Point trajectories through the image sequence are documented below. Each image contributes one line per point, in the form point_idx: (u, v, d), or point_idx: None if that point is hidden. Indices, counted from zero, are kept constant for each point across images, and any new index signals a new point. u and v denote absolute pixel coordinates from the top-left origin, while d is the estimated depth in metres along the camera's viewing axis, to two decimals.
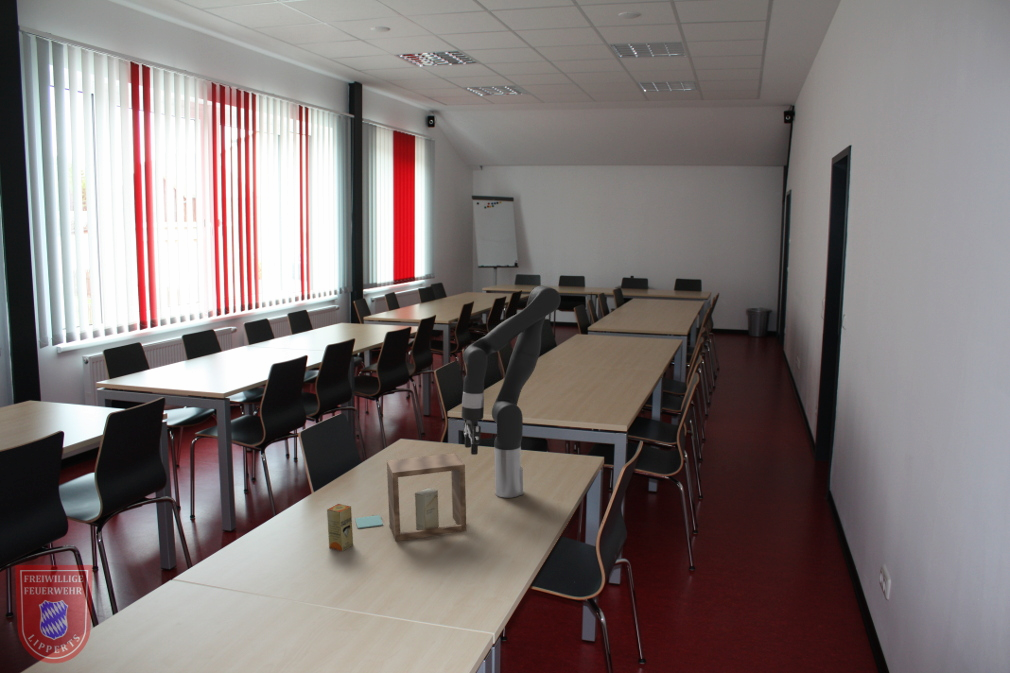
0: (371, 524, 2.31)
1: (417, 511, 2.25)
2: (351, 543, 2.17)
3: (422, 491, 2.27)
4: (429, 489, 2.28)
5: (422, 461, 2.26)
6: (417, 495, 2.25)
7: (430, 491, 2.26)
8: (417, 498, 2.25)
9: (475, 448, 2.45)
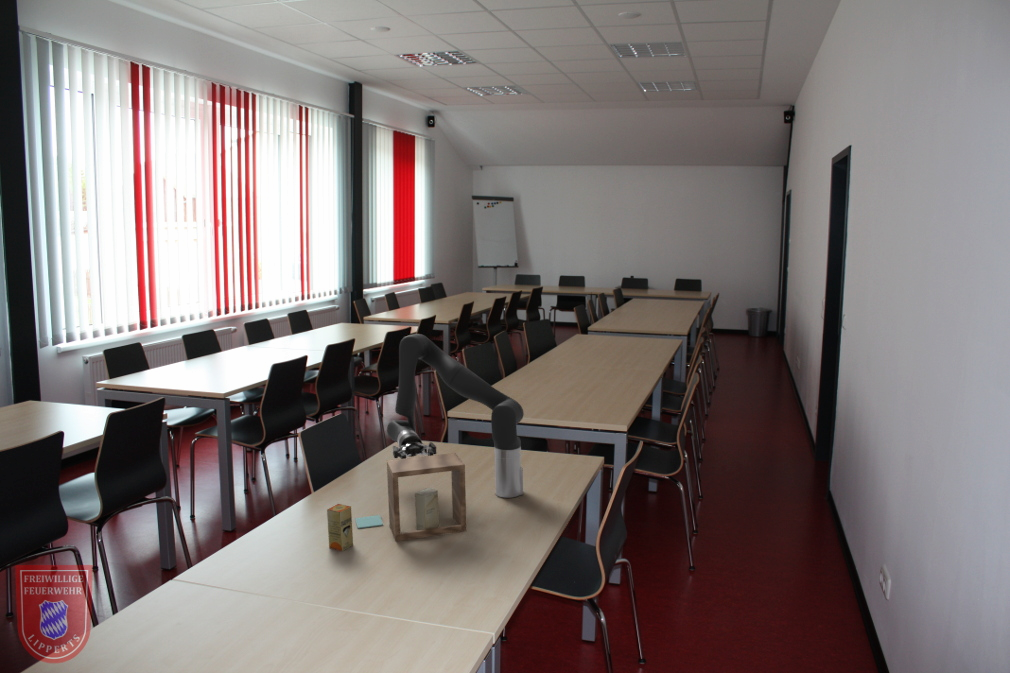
0: (371, 524, 2.31)
1: (417, 511, 2.25)
2: (351, 543, 2.17)
3: (422, 491, 2.27)
4: (429, 489, 2.28)
5: (422, 461, 2.26)
6: (417, 495, 2.25)
7: (430, 491, 2.26)
8: (417, 498, 2.25)
9: (400, 456, 2.37)
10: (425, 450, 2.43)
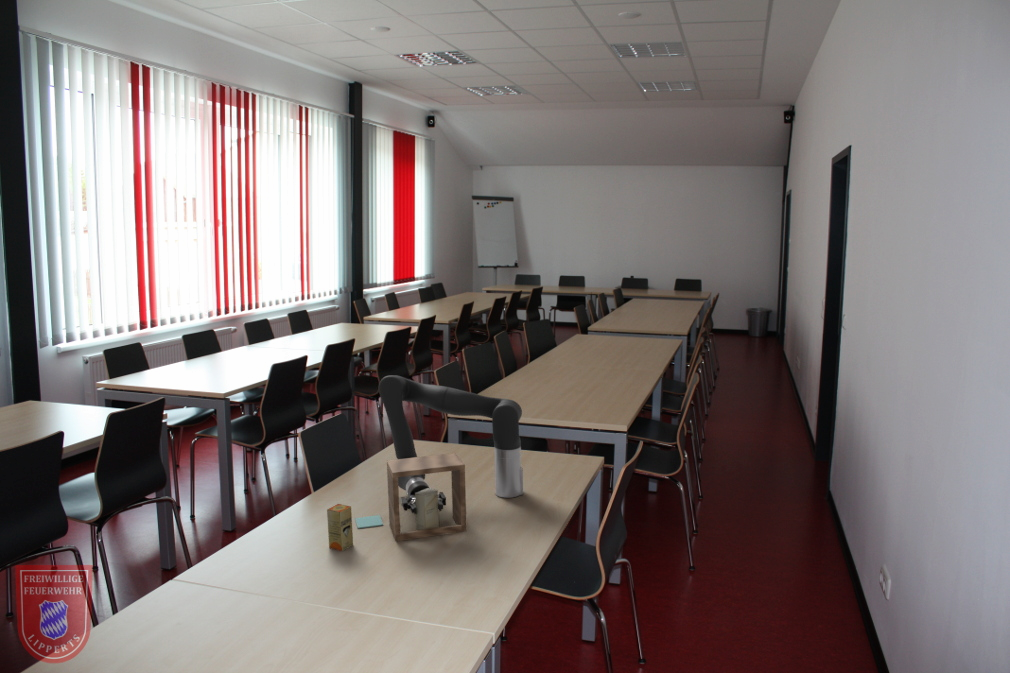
0: (371, 524, 2.31)
1: (417, 511, 2.25)
2: (351, 543, 2.17)
3: (422, 491, 2.27)
4: (429, 489, 2.28)
5: (422, 461, 2.26)
6: (417, 495, 2.25)
7: (430, 491, 2.26)
8: (417, 498, 2.25)
9: (410, 508, 2.26)
10: None
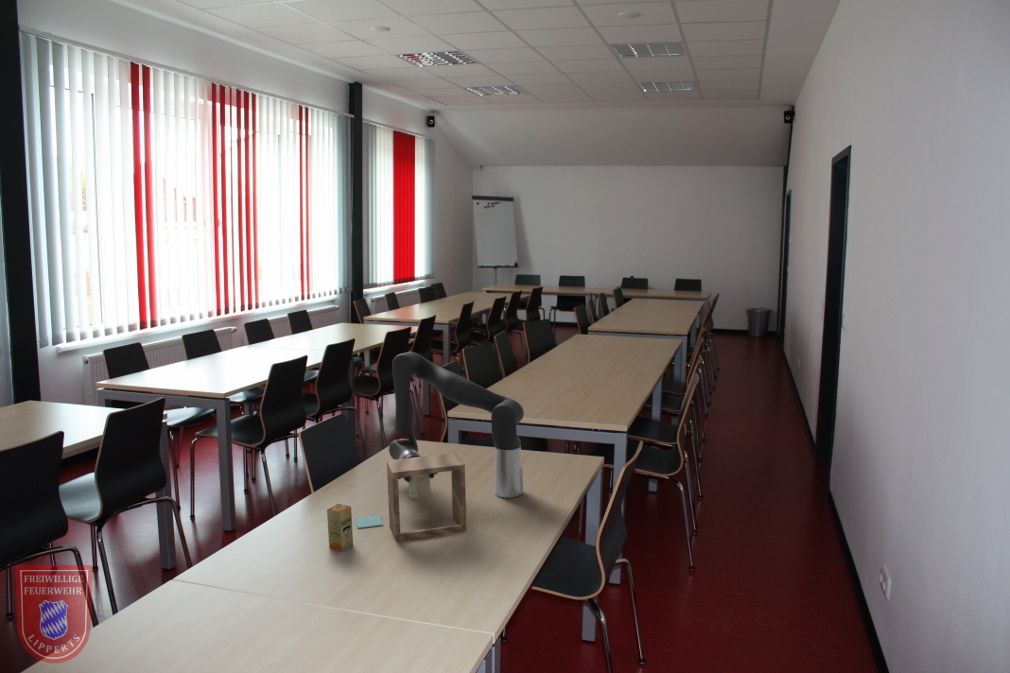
0: (371, 524, 2.31)
1: (410, 479, 2.38)
2: (351, 543, 2.17)
3: None
4: None
5: (422, 461, 2.26)
6: None
7: None
8: None
9: None
10: None
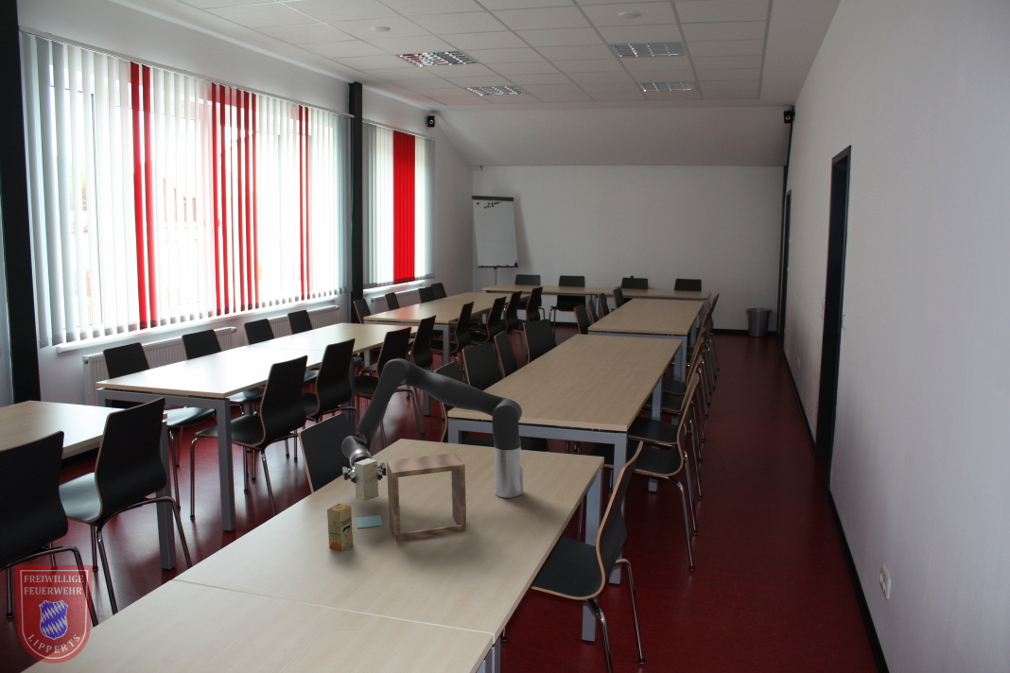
0: (371, 524, 2.31)
1: (356, 480, 2.30)
2: (351, 543, 2.17)
3: (362, 461, 2.31)
4: (369, 459, 2.33)
5: (422, 461, 2.26)
6: (356, 465, 2.29)
7: (369, 461, 2.30)
8: (356, 468, 2.29)
9: (350, 477, 2.30)
10: None
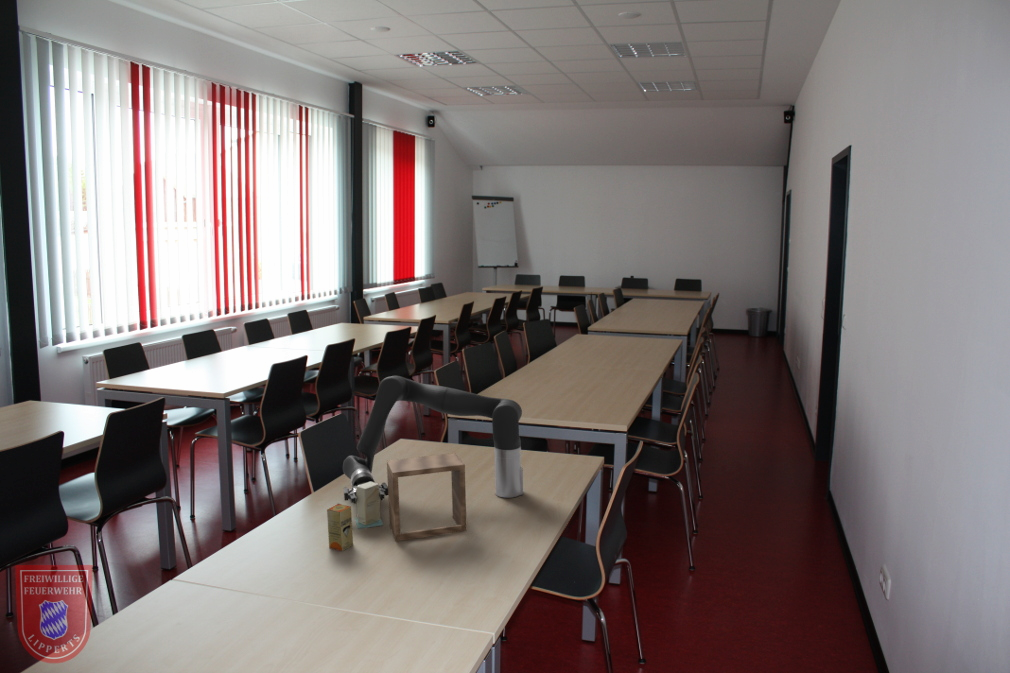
0: (371, 524, 2.31)
1: (358, 504, 2.31)
2: (351, 543, 2.17)
3: (363, 484, 2.32)
4: (371, 482, 2.34)
5: (422, 461, 2.26)
6: (358, 488, 2.30)
7: (371, 485, 2.32)
8: (358, 491, 2.30)
9: (350, 498, 2.31)
10: None
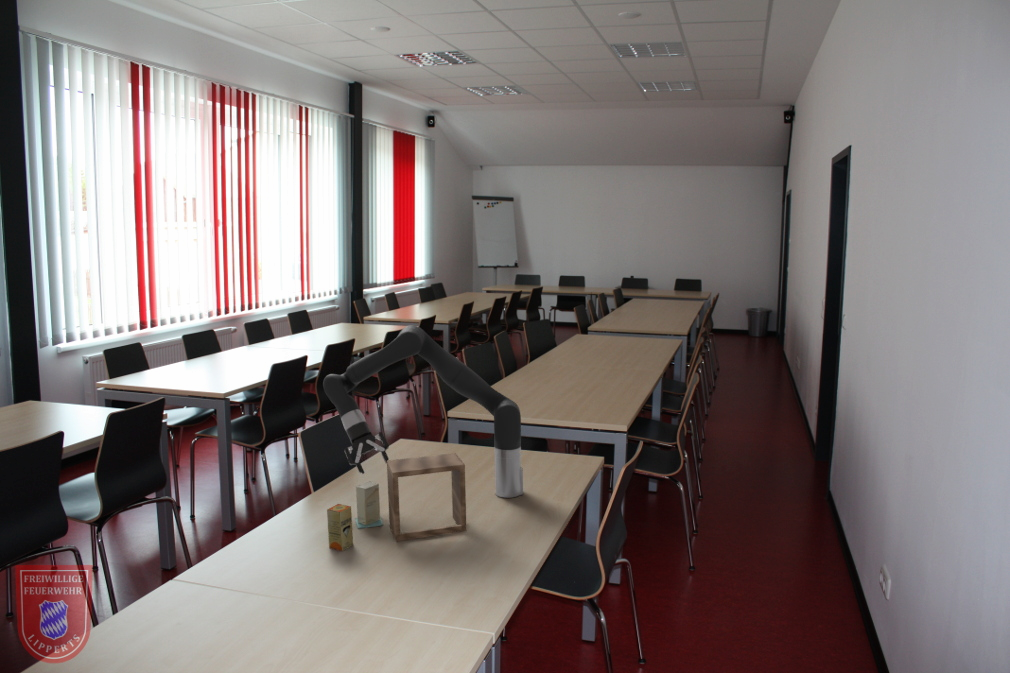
0: (371, 524, 2.31)
1: (358, 504, 2.31)
2: (351, 543, 2.17)
3: (363, 484, 2.32)
4: (370, 482, 2.34)
5: (422, 461, 2.26)
6: (358, 488, 2.30)
7: (371, 485, 2.32)
8: (358, 491, 2.30)
9: None
10: None
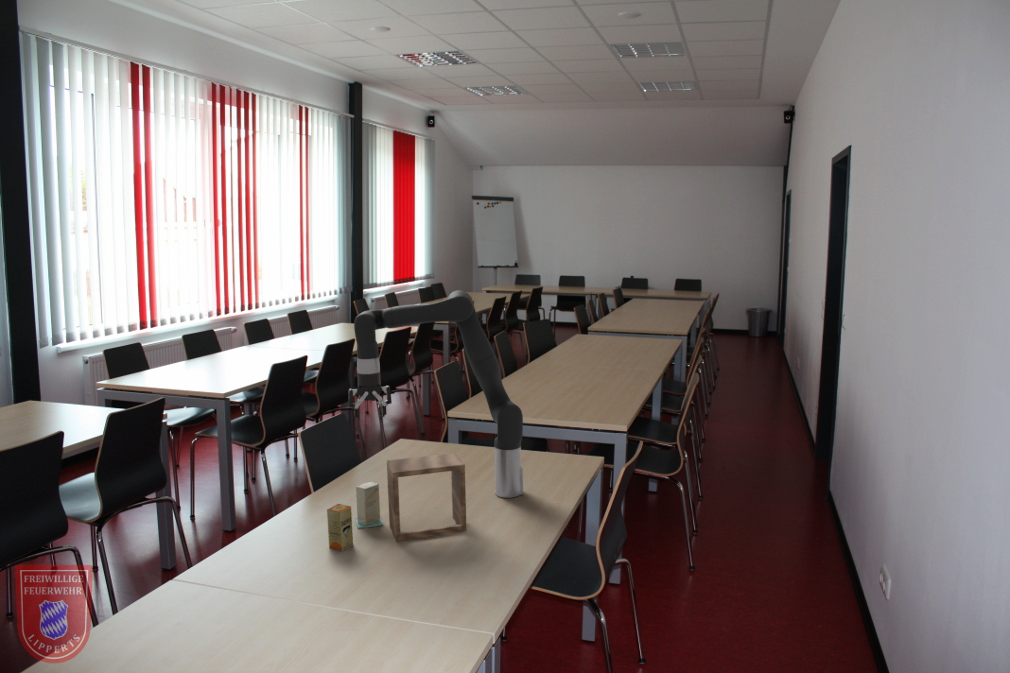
0: (371, 524, 2.31)
1: (358, 504, 2.31)
2: (351, 543, 2.17)
3: (363, 484, 2.32)
4: (370, 482, 2.34)
5: (422, 461, 2.26)
6: (358, 488, 2.30)
7: (371, 485, 2.32)
8: (358, 491, 2.30)
9: (354, 412, 2.44)
10: None
